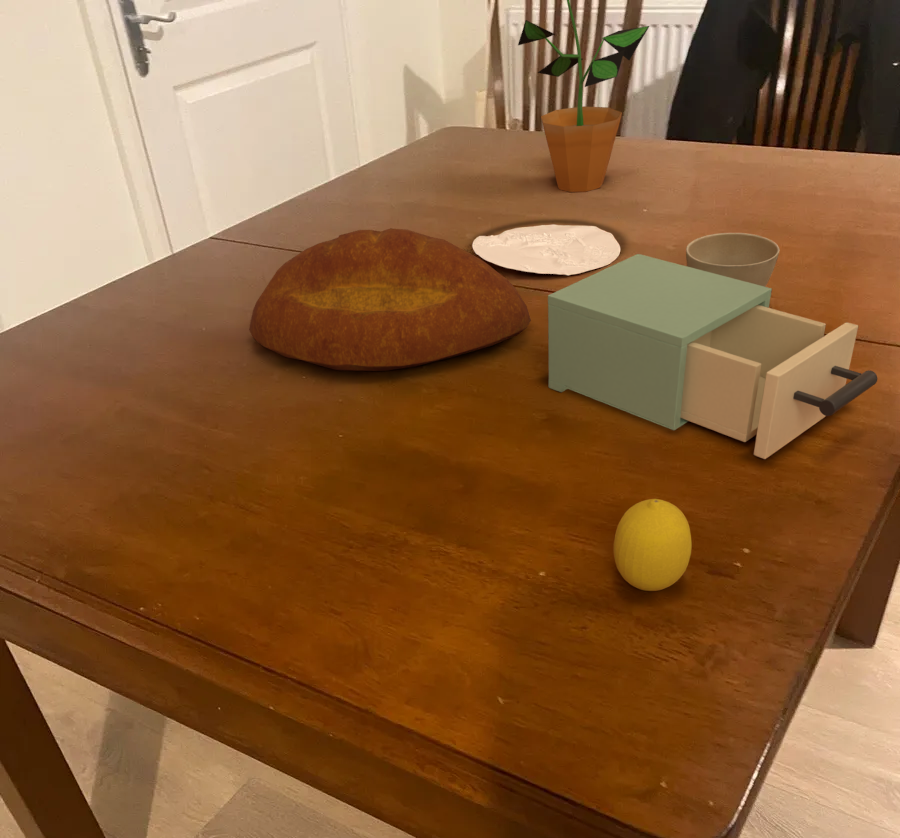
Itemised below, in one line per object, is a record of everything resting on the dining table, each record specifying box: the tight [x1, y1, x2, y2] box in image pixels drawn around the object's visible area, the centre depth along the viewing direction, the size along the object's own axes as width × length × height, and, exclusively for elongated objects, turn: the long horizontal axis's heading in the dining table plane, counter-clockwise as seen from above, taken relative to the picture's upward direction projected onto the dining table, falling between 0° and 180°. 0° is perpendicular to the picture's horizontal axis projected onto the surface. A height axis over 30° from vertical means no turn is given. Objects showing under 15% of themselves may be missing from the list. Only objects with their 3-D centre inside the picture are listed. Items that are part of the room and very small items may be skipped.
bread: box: [248, 227, 532, 372], centre depth 103 cm, size 21×33×12 cm, turn 80°
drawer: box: [680, 305, 878, 460], centre depth 83 cm, size 18×13×8 cm
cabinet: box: [547, 253, 773, 431], centre depth 90 cm, size 16×14×10 cm
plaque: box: [472, 223, 621, 277], centre depth 125 cm, size 20×20×2 cm
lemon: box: [612, 498, 693, 592], centre depth 67 cm, size 6×6×8 cm
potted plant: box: [517, 0, 650, 193], centre depth 137 cm, size 18×19×30 cm
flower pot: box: [685, 232, 780, 287], centre depth 104 cm, size 10×10×7 cm
